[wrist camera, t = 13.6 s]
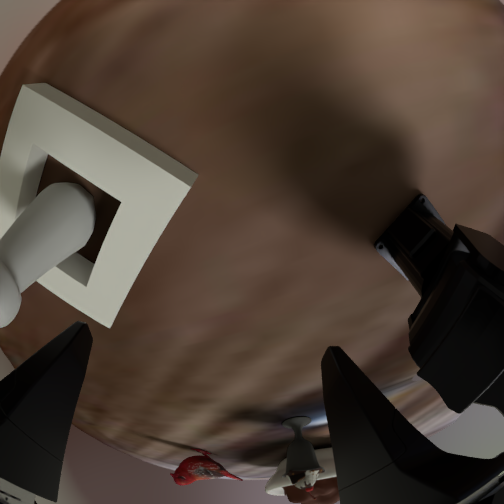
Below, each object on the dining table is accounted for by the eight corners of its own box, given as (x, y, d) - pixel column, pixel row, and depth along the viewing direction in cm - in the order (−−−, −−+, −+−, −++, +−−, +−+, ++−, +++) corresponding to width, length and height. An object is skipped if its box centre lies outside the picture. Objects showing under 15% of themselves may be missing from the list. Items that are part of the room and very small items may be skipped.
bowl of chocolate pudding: (321, 466, 60) (327, 508, 47) (245, 463, 54) (246, 514, 41) (385, 433, 49) (398, 484, 36) (304, 433, 43) (313, 502, 30)
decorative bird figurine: (176, 440, 45) (171, 482, 36) (246, 457, 50) (247, 493, 42) (170, 443, 46) (165, 483, 37) (239, 459, 51) (239, 494, 43)
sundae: (311, 427, 41) (322, 499, 28) (274, 429, 41) (280, 504, 28) (321, 412, 38) (335, 494, 25) (280, 415, 38) (288, 500, 25)
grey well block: (198, 174, 19) (191, 187, 16) (119, 307, 25) (109, 328, 23) (45, 82, 14) (22, 84, 11) (6, 229, 20) (-10, 242, 18)
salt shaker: (48, 219, 20) (-42, 309, 9) (59, 163, 18) (-58, 239, 6) (96, 247, 22) (19, 359, 10) (113, 192, 19) (8, 297, 8)
